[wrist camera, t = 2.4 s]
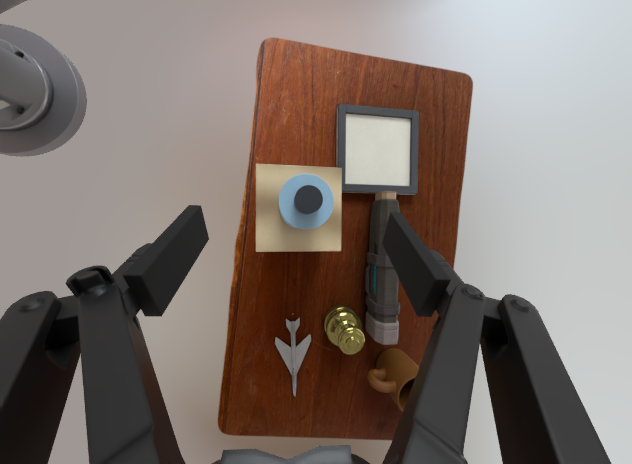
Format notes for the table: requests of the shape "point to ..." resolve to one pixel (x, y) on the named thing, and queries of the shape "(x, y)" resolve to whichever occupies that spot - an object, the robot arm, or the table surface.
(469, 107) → the table surface
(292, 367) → the toy airplane
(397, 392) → the mug
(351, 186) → the whiteboard
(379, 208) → the tube
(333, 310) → the brass weight
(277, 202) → the stand
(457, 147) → the table surface
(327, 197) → the cleaner bottle
